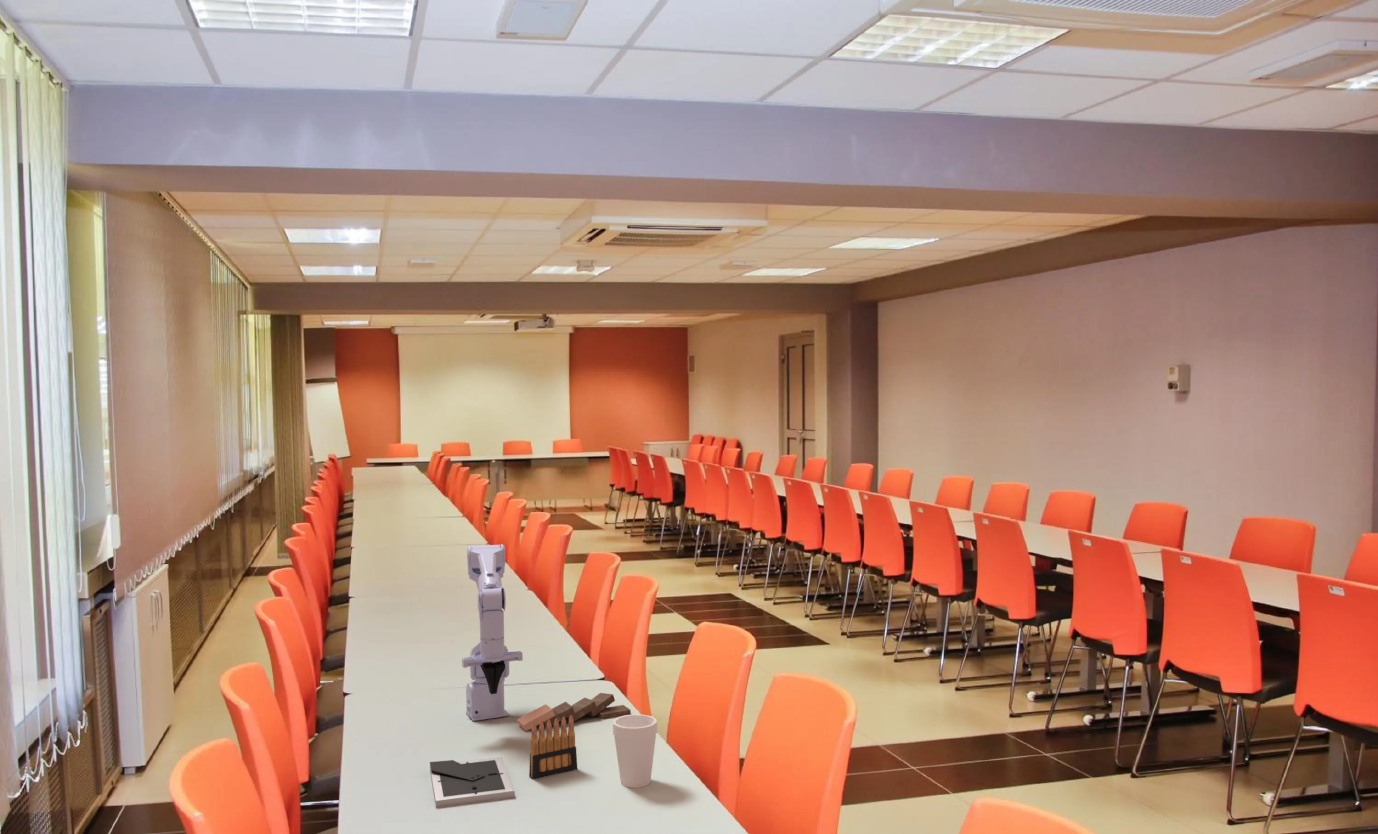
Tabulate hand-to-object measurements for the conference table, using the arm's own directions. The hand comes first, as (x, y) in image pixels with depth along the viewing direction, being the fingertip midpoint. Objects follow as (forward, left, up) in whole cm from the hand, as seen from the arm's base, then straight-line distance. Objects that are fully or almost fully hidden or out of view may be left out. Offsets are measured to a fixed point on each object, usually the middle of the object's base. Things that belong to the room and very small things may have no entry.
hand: (493, 692), depth 251 cm
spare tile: (+7, 0, -9) cm, 11 cm away
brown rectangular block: (+12, 0, -9) cm, 15 cm away
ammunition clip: (+5, -32, -10) cm, 34 cm away
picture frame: (-13, -30, -11) cm, 34 cm away
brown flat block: (+27, +1, -10) cm, 29 cm away
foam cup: (+19, -45, -10) cm, 50 cm away
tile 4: (+24, +1, -9) cm, 26 cm away
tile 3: (+18, 0, -9) cm, 20 cm away
